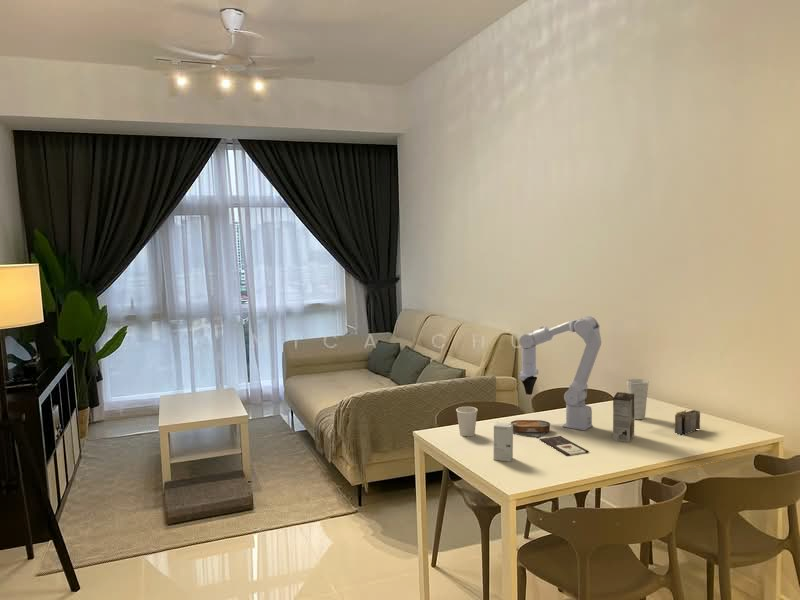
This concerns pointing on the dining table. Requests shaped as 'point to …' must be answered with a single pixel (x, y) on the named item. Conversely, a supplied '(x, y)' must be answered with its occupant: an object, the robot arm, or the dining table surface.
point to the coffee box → (623, 416)
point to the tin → (530, 426)
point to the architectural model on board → (687, 421)
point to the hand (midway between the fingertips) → (529, 394)
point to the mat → (530, 434)
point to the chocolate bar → (564, 445)
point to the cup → (638, 396)
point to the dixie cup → (467, 420)
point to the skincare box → (503, 441)
